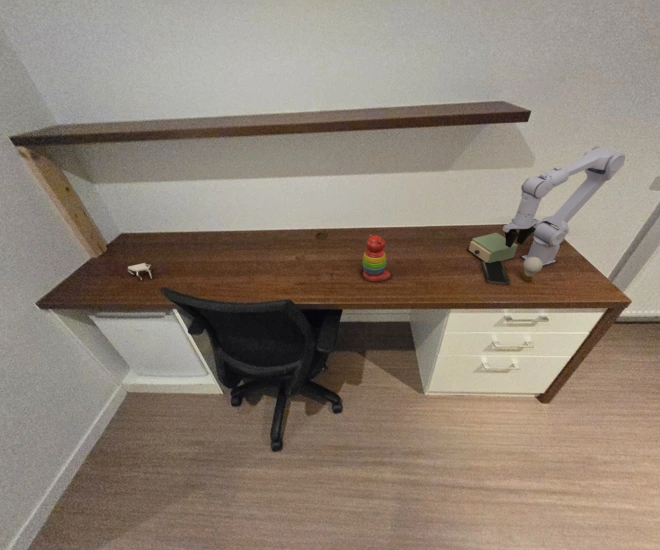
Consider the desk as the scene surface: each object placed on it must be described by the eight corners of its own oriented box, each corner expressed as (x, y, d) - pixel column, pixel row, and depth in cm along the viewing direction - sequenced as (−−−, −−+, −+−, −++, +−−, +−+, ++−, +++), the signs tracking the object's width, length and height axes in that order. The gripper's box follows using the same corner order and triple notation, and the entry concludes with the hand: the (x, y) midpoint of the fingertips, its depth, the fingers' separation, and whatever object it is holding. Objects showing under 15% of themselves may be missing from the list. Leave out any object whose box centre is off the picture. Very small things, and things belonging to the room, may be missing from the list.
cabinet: (488, 264, 123) (492, 252, 120) (469, 250, 132) (472, 238, 129) (513, 257, 126) (517, 245, 122) (492, 244, 135) (496, 232, 131)
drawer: (483, 263, 123) (486, 254, 120) (466, 250, 131) (468, 241, 128) (508, 256, 125) (511, 247, 123) (490, 244, 133) (492, 235, 131)
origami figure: (159, 268, 135) (155, 259, 132) (152, 280, 128) (147, 270, 125) (133, 271, 135) (127, 262, 132) (124, 282, 128) (118, 273, 125)
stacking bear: (392, 277, 120) (396, 238, 109) (371, 285, 116) (373, 246, 106) (377, 264, 128) (378, 226, 117) (356, 271, 124) (356, 234, 114)
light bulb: (536, 286, 111) (546, 263, 105) (518, 283, 112) (527, 261, 107) (534, 276, 115) (543, 254, 109) (516, 274, 117) (525, 252, 111)
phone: (487, 281, 113) (481, 259, 125) (486, 283, 114) (480, 261, 126) (510, 283, 112) (502, 261, 123) (509, 285, 112) (501, 263, 124)
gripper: (532, 204, 111) (520, 236, 120) (501, 210, 108) (490, 243, 116) (549, 211, 106) (535, 245, 114) (516, 218, 103) (504, 252, 111)
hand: (513, 244), depth 115 cm, fingers open, 5 cm apart
